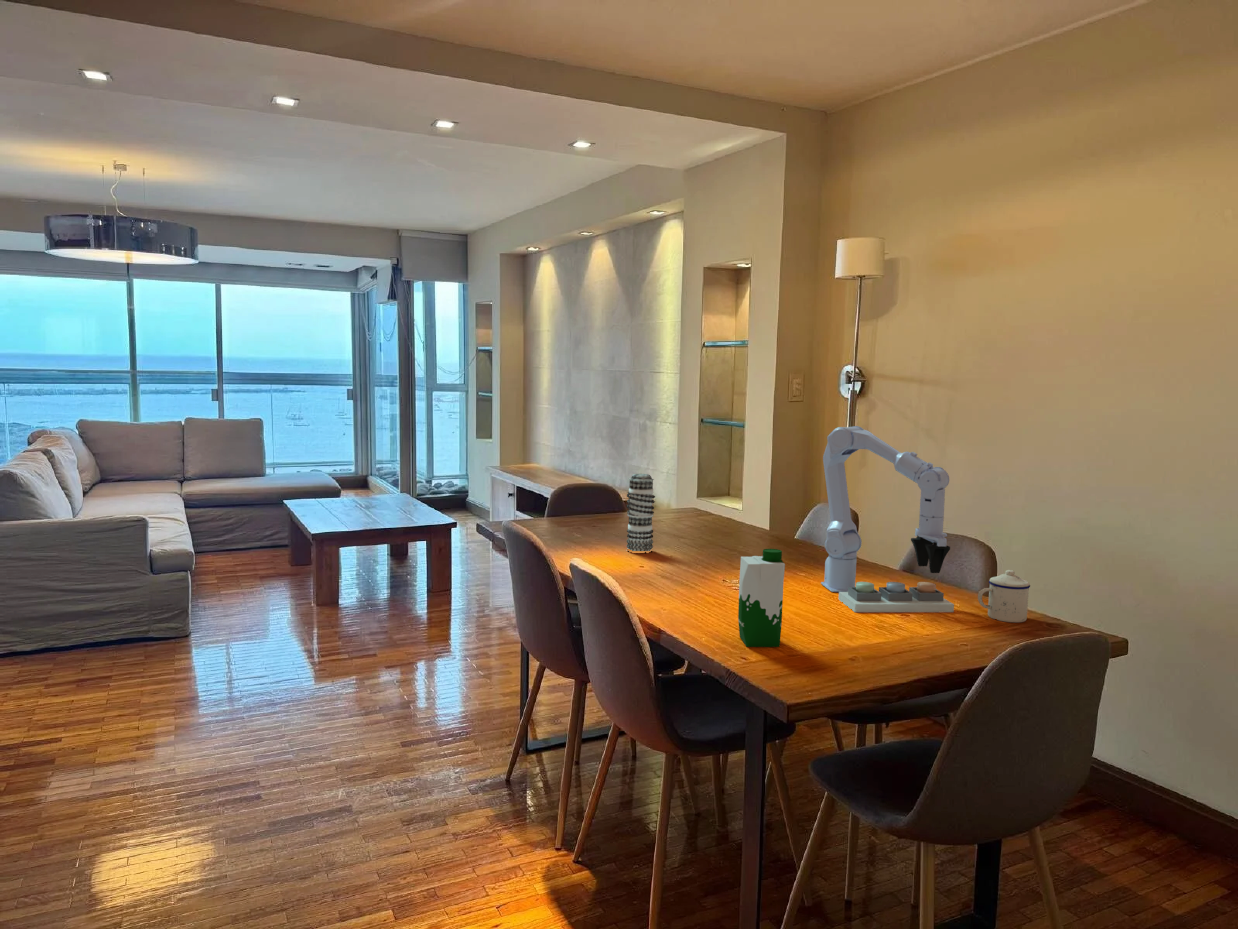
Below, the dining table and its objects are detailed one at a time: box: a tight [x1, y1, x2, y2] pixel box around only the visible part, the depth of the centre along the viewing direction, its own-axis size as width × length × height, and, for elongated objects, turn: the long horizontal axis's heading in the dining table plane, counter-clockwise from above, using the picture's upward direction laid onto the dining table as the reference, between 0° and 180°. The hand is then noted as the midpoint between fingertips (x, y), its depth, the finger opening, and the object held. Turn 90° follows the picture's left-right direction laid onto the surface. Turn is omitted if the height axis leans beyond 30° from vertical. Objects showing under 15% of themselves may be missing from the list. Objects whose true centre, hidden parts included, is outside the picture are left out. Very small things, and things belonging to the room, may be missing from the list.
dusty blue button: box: [886, 581, 906, 593], centre depth 215 cm, size 4×4×2 cm
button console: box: [838, 586, 955, 613], centre depth 215 cm, size 12×25×4 cm, turn 95°
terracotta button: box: [916, 581, 937, 593], centre depth 216 cm, size 4×4×2 cm
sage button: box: [855, 581, 875, 593], centre depth 214 cm, size 4×4×2 cm
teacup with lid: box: [977, 569, 1031, 624], centre depth 206 cm, size 12×9×12 cm
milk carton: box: [737, 548, 786, 648], centre depth 182 cm, size 9×9×20 cm
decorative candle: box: [626, 473, 656, 551], centre depth 275 cm, size 9×9×25 cm
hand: (928, 569), depth 215 cm, fingers open, 7 cm apart
